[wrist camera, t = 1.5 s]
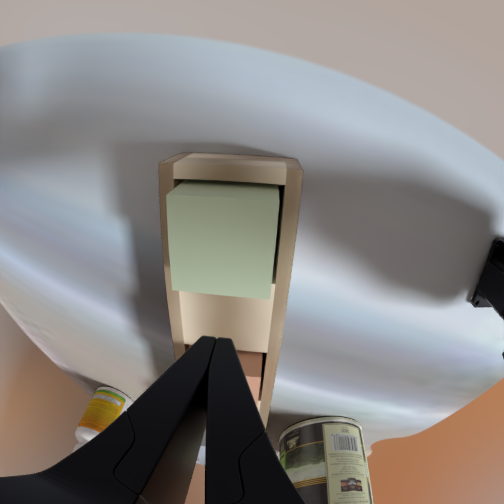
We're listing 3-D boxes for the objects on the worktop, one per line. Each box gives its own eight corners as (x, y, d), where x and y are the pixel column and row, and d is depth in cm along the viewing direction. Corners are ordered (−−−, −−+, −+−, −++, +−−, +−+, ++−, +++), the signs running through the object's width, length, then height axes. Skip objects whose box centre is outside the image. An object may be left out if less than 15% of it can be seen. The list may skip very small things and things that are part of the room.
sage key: (278, 181, 16) (279, 201, 13) (271, 262, 19) (269, 299, 15) (189, 176, 17) (166, 195, 13) (190, 255, 19) (172, 290, 15)
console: (297, 159, 18) (303, 170, 14) (261, 430, 30) (259, 459, 27) (181, 152, 18) (158, 163, 14) (199, 423, 31) (193, 451, 27)
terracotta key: (263, 335, 21) (260, 377, 18) (258, 379, 23) (255, 418, 20) (195, 329, 21) (181, 368, 18) (198, 373, 23) (188, 410, 20)
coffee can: (279, 455, 33) (276, 547, 21) (277, 418, 29) (273, 536, 16) (355, 449, 32) (365, 538, 20) (370, 410, 28) (390, 522, 15)
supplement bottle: (88, 386, 30) (57, 447, 21) (116, 382, 29) (84, 451, 20) (116, 413, 32) (91, 472, 23) (145, 411, 31) (121, 477, 22)
